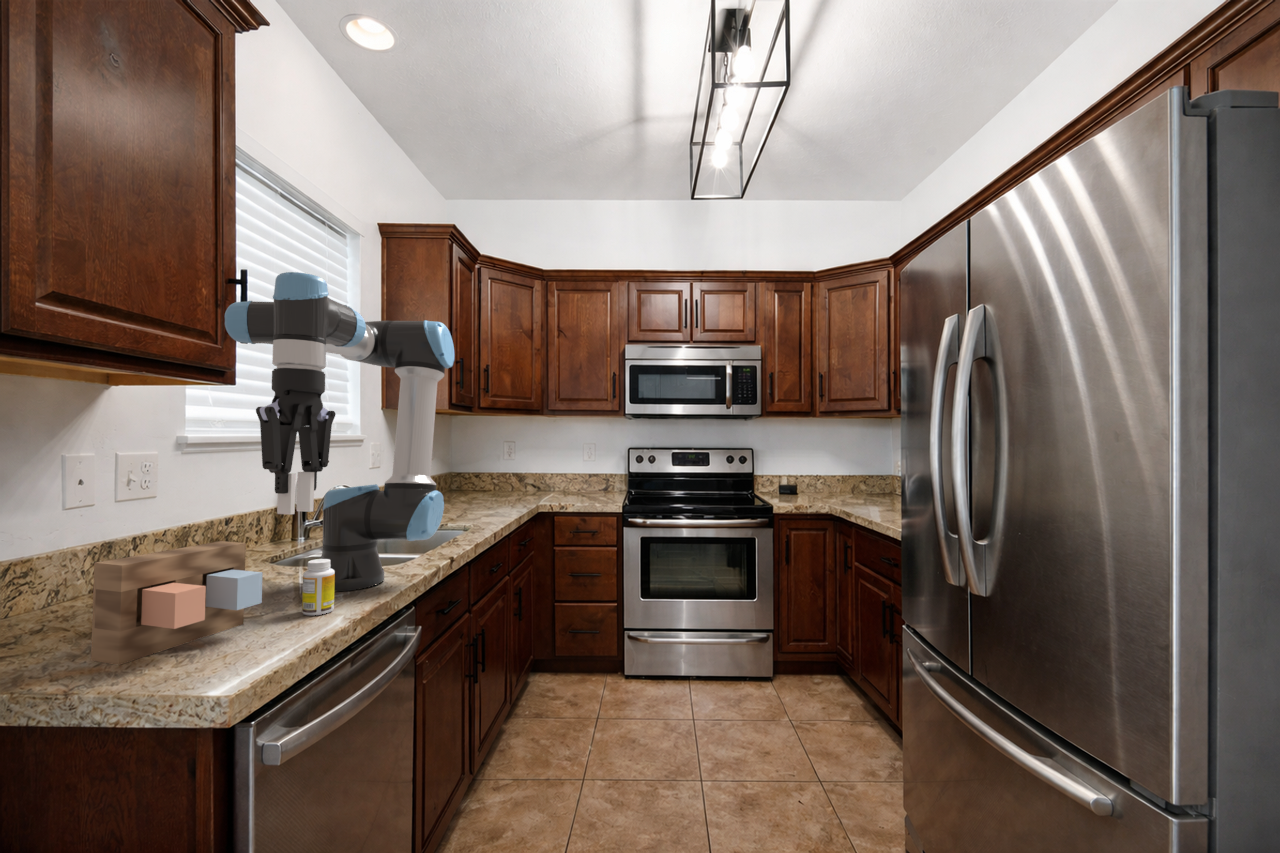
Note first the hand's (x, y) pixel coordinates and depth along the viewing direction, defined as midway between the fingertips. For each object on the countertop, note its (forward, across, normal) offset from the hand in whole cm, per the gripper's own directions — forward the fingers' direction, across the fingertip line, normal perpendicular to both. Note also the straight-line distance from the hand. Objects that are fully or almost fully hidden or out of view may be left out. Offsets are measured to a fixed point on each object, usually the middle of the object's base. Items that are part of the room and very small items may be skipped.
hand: (295, 512), depth 92 cm
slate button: (+17, -3, -16) cm, 24 cm away
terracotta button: (+17, +7, -16) cm, 25 cm away
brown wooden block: (+23, +2, -23) cm, 32 cm away
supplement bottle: (+23, -18, -13) cm, 32 cm away
